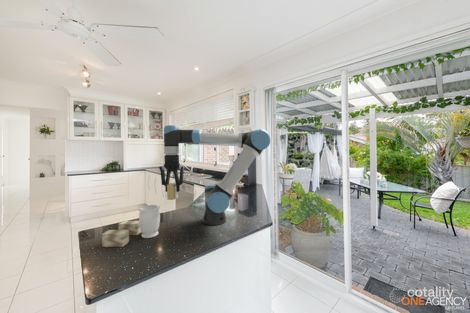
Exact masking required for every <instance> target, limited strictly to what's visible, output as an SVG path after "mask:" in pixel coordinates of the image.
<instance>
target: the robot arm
mask: <svg viewBox="0 0 470 313" xmlns="http://www.w3.org/2000/svg"><path fill="white" fill-rule="evenodd" d="M180 144H186V145H188V146H189V145H202V146H203V145H205V146H225V147H226V146H227V147H229V146H230V147H238V149H242V150H241V152H240V153H239V154H238V156H237V157H236V159H235V160H234V162H233V164H231V166H230V168H229V169H228V170H227V172H226V173H225V175H224V177H223V178H222V180H221V181H220V182H218V183H216V184H210V185H209V184H208V185H205V186H204V212H203V215H202V220H201V221H202V224H204V225H206V226H207V225H208V226H219V225H223V224H225V223H226V222H227V215H226V211H227V209H229V206H230V202H231V199H232V197H233V196H234V190H235V188H236V187H237V186H238V184H239V182H240V181H241V180H242V178H243V176H245V173H246V172H247V170H248V169H249V168H250V166H251V164H252V163H253V161H254V160H255V158H256V157H259V156H260V155H261V154H262V153H263V151H264V150H266V149H267V148H268V147H269V146H270V145H271V136H270V134H269V132H267V130H265V129H260V128H257V129H254V130H252V131H248V132H239V133H235V134H233V133H219V132H218V133H215V132H201V130H200V129H196V128H195V129H179V126H178V125H172V124H171V125H165V126H164V128H163V150H164V151H163V153H164V159H163V160H164V164H163V165H162V166H159V167H158V168H159V169H158V170H160V180H161V185H162V186H164V187H165V192H166V193H167V184H170V178H171V174H172V173H173V176H174V180H175V182H174V183H176V186H175V198H176V199H178V198H179V192H180V190H181V186H182V185H184V170H185V165H184V166H183V165H181V163H180V155H179V154H180V149H179V147H180ZM178 169H179V171H178ZM165 170H166V173H165ZM178 172H179V174H178Z"/></svg>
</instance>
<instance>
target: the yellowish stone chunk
mask: <svg viewBox="0 0 470 313" xmlns="http://www.w3.org/2000/svg"><path fill="white" fill-rule="evenodd" d="M175 186H176V182H169V184H167V192H166V194H167V195H166V197H167V198H166V200H167V201H170V200H171V201H174V200H176V199H177V198H175Z"/></svg>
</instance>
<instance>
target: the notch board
mask: <svg viewBox="0 0 470 313" xmlns="http://www.w3.org/2000/svg"><path fill="white" fill-rule="evenodd" d="M140 233H142V232H141V229H140V224H139V220H123V221H120V222H119V223H118V229H108V230H106V231H104V232H103V233H101V241H102V242H101V244H102V245H101V246H102V247H104V248H106V247H107V248H108V247H110V248H111V247H113V248H114V247H115V248H117V247H122V248H123V247H125V245H127V244H128V243H129V242H130V236H138V235H139V234H140Z"/></svg>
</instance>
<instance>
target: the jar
mask: <svg viewBox="0 0 470 313" xmlns="http://www.w3.org/2000/svg"><path fill="white" fill-rule="evenodd" d="M160 208H161V206H160V205H158V204H148V205H142V206H140V207H139V208H138V211H139V215H138V221H139V224H140V229H141V232H140V233H141V238H144V239H149V238H154V237H157V236H158V235H159V228H160V224H161V222H160V221H161V213H160Z"/></svg>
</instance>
